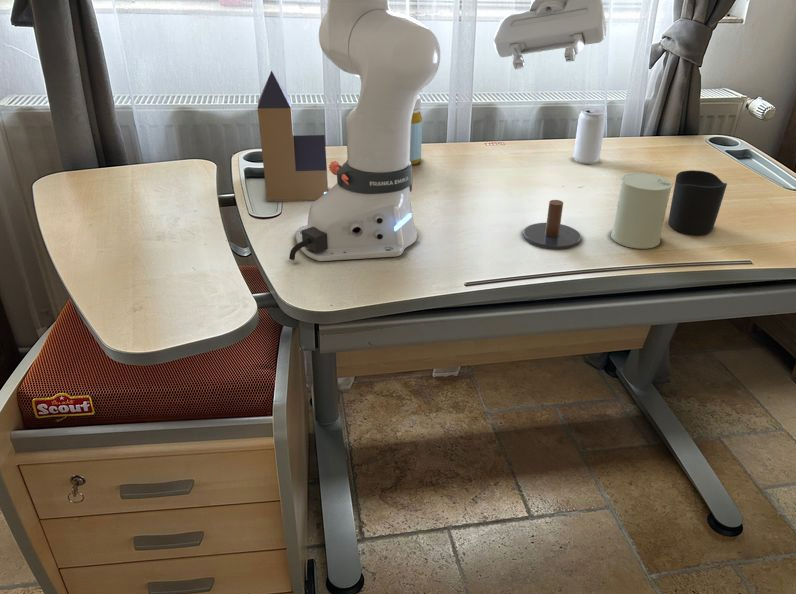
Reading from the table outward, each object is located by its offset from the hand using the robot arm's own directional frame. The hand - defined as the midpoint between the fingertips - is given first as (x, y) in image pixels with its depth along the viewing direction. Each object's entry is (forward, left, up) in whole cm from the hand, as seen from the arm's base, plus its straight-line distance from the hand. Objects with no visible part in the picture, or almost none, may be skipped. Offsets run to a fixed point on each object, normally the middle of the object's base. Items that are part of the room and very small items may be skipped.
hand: (543, 62), depth 127 cm
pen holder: (+30, -14, -30) cm, 45 cm away
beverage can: (+32, +27, -30) cm, 52 cm away
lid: (+1, -9, -30) cm, 31 cm away
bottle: (-10, +40, -30) cm, 51 cm away
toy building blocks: (-38, +33, -30) cm, 59 cm away
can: (+16, -15, -30) cm, 37 cm away
